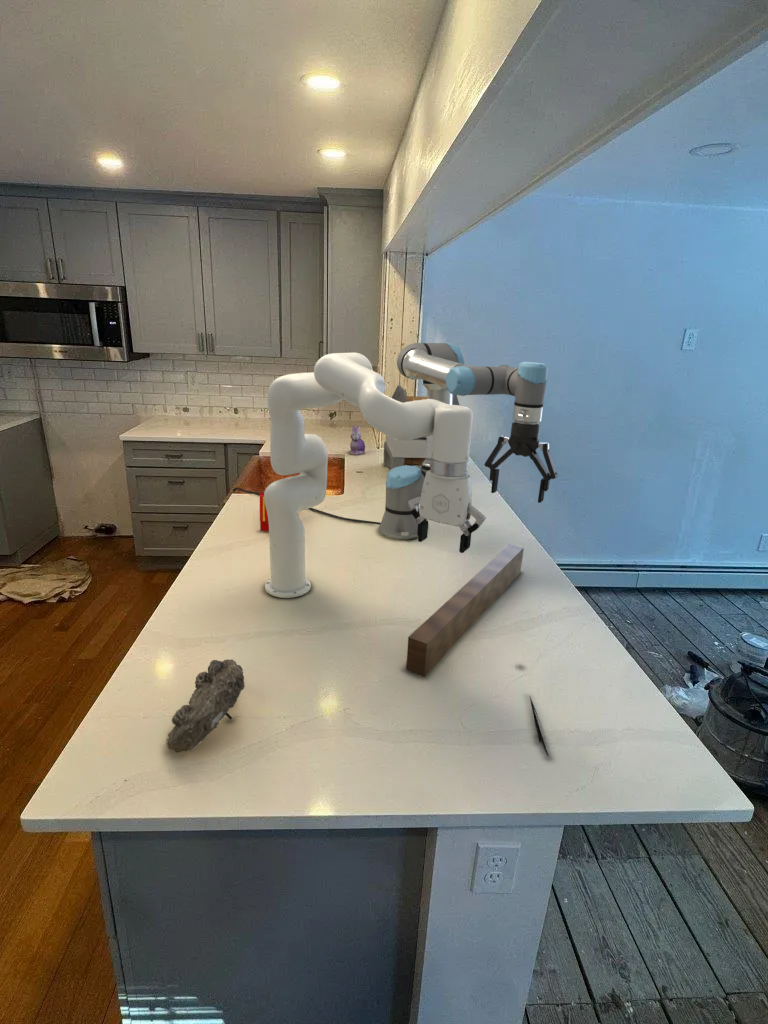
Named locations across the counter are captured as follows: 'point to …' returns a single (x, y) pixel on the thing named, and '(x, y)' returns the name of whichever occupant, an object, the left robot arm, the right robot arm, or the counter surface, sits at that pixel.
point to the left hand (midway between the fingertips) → (442, 545)
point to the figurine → (356, 442)
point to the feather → (538, 726)
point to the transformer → (406, 450)
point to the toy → (263, 514)
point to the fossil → (206, 705)
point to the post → (461, 611)
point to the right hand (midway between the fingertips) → (516, 496)
